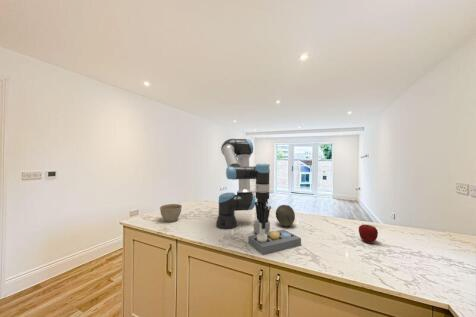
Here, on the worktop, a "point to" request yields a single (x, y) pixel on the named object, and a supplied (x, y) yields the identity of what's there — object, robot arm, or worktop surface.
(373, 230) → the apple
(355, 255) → the worktop surface
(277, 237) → the button ochre
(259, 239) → the button ivory
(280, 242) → the three ball holder
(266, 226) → the teacup
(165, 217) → the planter bowl
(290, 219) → the smooth brown stone
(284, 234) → the button blue
